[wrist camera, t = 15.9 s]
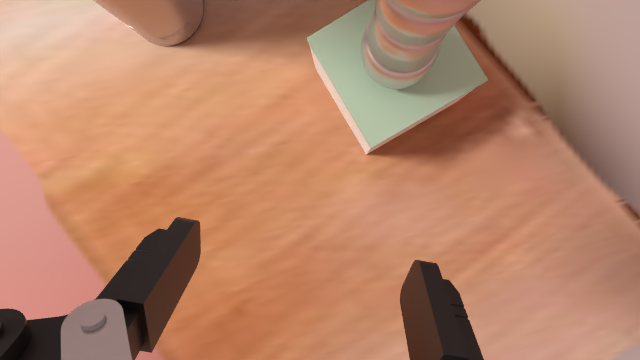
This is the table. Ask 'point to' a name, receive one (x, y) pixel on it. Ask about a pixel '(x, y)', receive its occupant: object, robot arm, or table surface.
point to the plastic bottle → (407, 38)
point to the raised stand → (380, 102)
